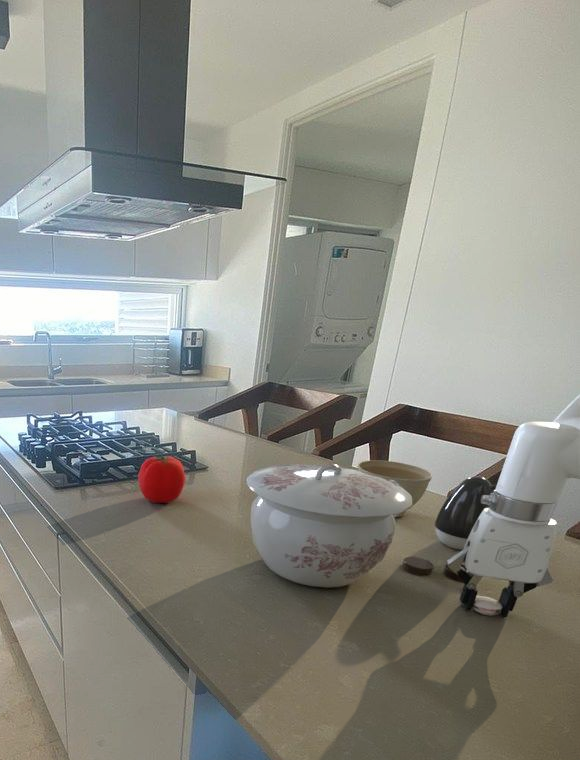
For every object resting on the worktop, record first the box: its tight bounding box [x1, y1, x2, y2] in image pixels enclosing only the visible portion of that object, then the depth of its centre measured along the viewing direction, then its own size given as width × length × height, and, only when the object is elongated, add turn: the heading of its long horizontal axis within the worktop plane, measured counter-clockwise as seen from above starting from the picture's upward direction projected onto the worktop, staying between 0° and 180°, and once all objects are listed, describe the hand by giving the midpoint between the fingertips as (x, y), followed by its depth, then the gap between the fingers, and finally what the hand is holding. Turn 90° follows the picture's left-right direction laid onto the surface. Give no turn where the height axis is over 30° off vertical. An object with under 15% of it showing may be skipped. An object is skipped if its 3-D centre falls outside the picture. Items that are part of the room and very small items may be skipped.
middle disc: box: [442, 563, 468, 584], centre depth 91 cm, size 5×5×2 cm
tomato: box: [137, 454, 187, 504], centre depth 124 cm, size 12×13×12 cm
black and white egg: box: [434, 475, 497, 551], centre depth 101 cm, size 10×10×15 cm
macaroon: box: [472, 595, 503, 617], centre depth 80 cm, size 4×5×2 cm
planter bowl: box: [357, 460, 433, 518], centre depth 119 cm, size 16×16×11 cm
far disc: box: [401, 556, 434, 577], centre depth 93 cm, size 5×5×2 cm
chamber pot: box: [246, 463, 413, 589], centre depth 88 cm, size 28×28×21 cm
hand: (483, 608), depth 80 cm, fingers closed on macaroon, 4 cm apart
